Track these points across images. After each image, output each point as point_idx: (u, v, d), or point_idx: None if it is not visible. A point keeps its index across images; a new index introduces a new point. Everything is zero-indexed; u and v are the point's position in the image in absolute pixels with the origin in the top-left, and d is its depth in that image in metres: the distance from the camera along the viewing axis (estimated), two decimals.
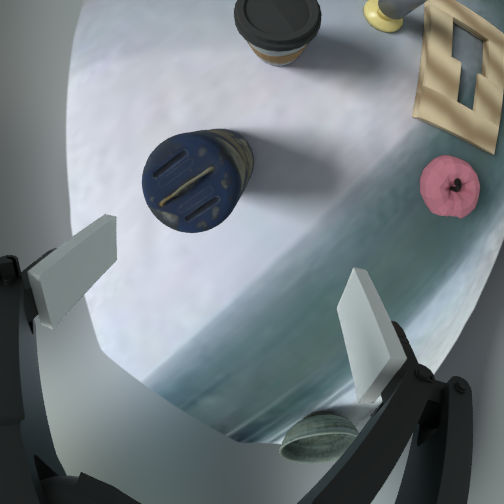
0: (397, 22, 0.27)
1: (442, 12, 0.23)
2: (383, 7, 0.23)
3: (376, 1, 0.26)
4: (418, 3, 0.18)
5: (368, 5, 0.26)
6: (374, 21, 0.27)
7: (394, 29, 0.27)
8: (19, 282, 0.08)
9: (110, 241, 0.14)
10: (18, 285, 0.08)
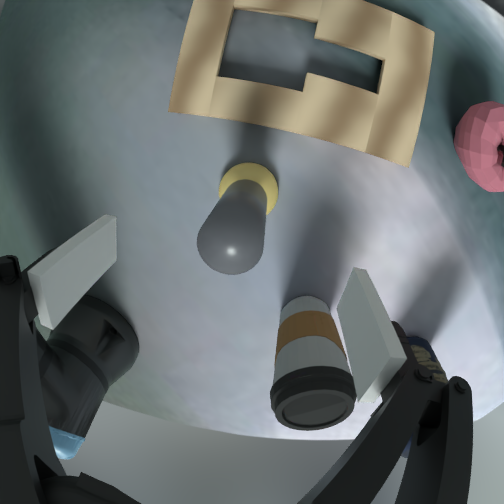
0: (259, 174, 0.28)
1: (214, 95, 0.23)
2: None
3: None
4: (264, 223, 0.19)
5: None
6: (266, 209, 0.30)
7: (273, 180, 0.28)
8: (19, 282, 0.08)
9: (110, 241, 0.14)
10: (18, 285, 0.08)
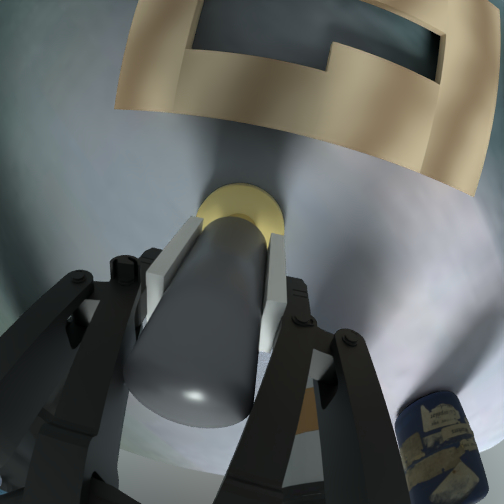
0: (255, 202, 0.18)
1: (182, 79, 0.14)
2: None
3: None
4: (257, 331, 0.10)
5: None
6: None
7: (277, 212, 0.18)
8: (136, 287, 0.10)
9: None
10: (134, 290, 0.10)
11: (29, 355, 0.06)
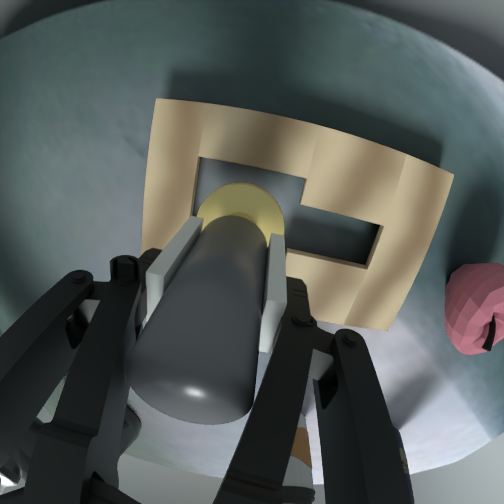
0: (255, 201, 0.18)
1: None
2: None
3: None
4: (258, 328, 0.10)
5: None
6: None
7: (277, 211, 0.19)
8: (136, 286, 0.10)
9: None
10: (134, 289, 0.10)
11: (29, 355, 0.06)
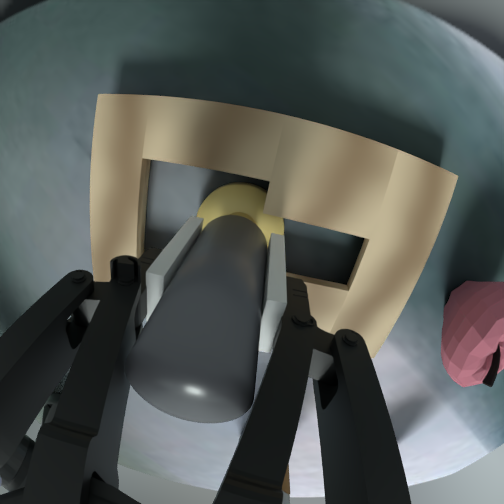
0: (255, 201, 0.18)
1: None
2: None
3: None
4: (258, 327, 0.10)
5: None
6: None
7: None
8: (136, 287, 0.10)
9: None
10: (134, 290, 0.10)
11: (29, 355, 0.06)
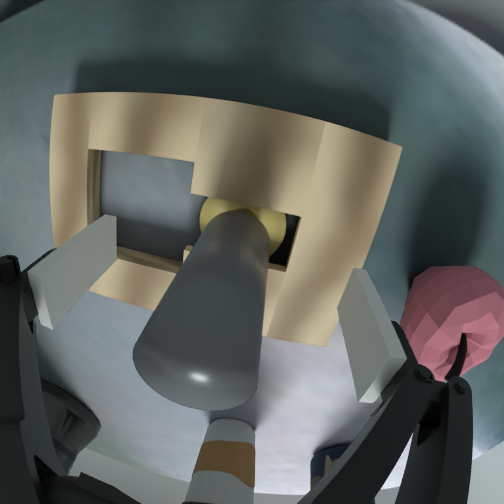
0: None
1: None
2: None
3: None
4: (261, 316, 0.10)
5: None
6: None
7: None
8: (19, 282, 0.08)
9: (110, 241, 0.14)
10: (18, 285, 0.08)
11: None
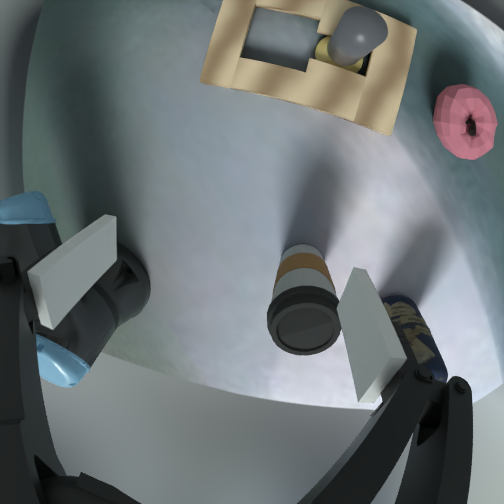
0: None
1: (237, 71, 0.29)
2: (353, 63, 0.25)
3: (322, 60, 0.28)
4: None
5: None
6: (353, 70, 0.28)
7: None
8: (19, 282, 0.08)
9: (110, 241, 0.14)
10: (18, 285, 0.08)
11: None
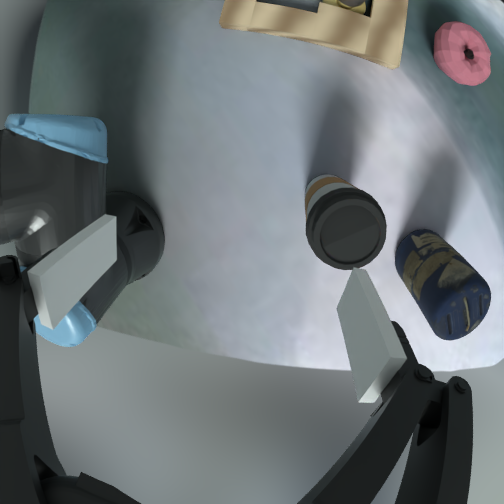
0: None
1: (254, 13, 0.27)
2: (360, 3, 0.23)
3: None
4: None
5: None
6: None
7: None
8: (19, 282, 0.08)
9: (110, 241, 0.14)
10: (18, 285, 0.08)
11: None
